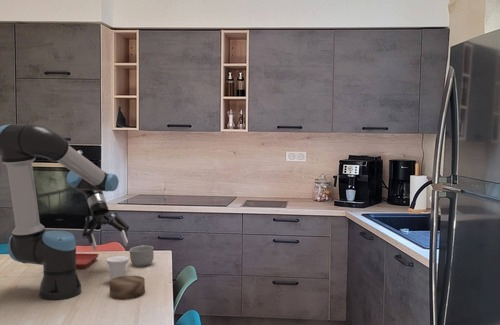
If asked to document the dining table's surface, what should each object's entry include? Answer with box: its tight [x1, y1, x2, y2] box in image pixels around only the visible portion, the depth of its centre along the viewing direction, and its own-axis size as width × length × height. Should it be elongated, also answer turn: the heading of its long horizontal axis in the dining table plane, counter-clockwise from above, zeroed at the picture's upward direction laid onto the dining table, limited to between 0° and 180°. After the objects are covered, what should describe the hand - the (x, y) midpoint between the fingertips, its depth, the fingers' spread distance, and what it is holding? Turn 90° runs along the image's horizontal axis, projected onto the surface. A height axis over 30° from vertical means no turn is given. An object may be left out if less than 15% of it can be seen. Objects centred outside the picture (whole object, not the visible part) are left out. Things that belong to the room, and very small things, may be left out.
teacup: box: [129, 244, 154, 267], centre depth 233 cm, size 14×11×8 cm
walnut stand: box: [109, 275, 146, 300], centre depth 191 cm, size 13×13×5 cm
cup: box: [106, 255, 130, 281], centre depth 205 cm, size 9×9×10 cm
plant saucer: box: [76, 253, 100, 270], centre depth 232 cm, size 18×18×3 cm
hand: (111, 246), depth 212 cm, fingers open, 13 cm apart
